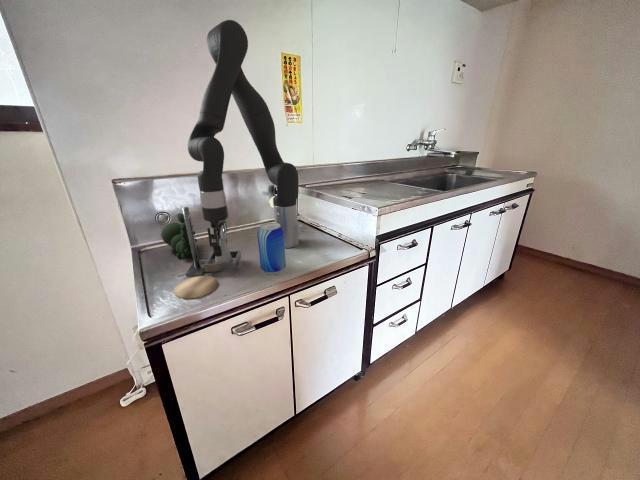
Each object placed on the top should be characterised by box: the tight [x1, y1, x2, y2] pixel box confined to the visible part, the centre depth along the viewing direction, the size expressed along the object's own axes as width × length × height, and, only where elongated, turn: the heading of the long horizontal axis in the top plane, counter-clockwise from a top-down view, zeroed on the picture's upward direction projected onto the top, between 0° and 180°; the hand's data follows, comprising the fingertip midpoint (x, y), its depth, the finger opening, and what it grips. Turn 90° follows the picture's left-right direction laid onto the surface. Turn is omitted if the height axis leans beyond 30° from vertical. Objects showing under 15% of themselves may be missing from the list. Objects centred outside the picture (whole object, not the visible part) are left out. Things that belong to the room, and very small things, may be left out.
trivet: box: [173, 275, 219, 300], centre depth 80 cm, size 12×12×1 cm
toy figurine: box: [160, 212, 199, 260], centre depth 100 cm, size 9×19×25 cm
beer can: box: [256, 222, 287, 276], centre depth 87 cm, size 8×8×16 cm
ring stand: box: [181, 206, 242, 277], centre depth 87 cm, size 16×10×22 cm, turn 97°
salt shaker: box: [214, 232, 234, 263], centre depth 89 cm, size 6×6×13 cm
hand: (221, 250), depth 89 cm, fingers open, 8 cm apart
